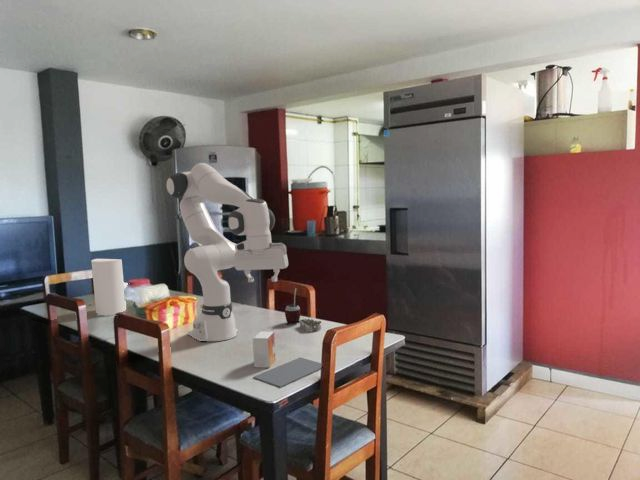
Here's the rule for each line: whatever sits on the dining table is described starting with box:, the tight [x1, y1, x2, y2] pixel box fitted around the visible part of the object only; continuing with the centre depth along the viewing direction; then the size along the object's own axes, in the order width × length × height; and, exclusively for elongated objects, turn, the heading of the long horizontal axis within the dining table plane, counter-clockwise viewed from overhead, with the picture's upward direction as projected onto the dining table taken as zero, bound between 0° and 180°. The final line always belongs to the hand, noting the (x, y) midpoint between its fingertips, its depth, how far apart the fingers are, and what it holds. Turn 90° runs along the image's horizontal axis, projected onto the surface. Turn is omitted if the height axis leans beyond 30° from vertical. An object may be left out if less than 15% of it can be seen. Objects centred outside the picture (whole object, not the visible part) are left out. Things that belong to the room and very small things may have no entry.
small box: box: [252, 331, 277, 369], centre depth 172 cm, size 8×6×10 cm
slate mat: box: [252, 356, 322, 388], centre depth 164 cm, size 13×22×1 cm, turn 138°
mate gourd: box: [284, 288, 302, 326], centre depth 221 cm, size 8×8×15 cm
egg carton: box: [299, 318, 322, 333], centre depth 212 cm, size 11×8×4 cm
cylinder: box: [90, 258, 129, 314], centre depth 256 cm, size 17×17×28 cm
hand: (262, 281), depth 177 cm, fingers open, 8 cm apart
